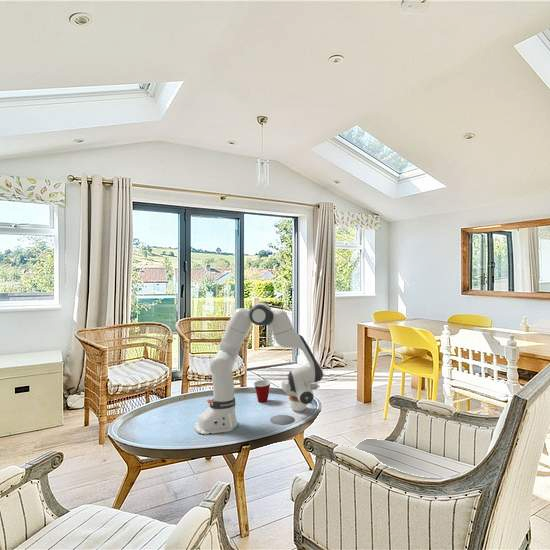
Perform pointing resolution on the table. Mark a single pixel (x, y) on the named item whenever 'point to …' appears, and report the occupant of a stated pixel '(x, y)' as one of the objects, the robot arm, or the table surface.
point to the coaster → (282, 420)
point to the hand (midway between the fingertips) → (297, 380)
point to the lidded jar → (296, 404)
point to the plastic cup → (262, 390)
